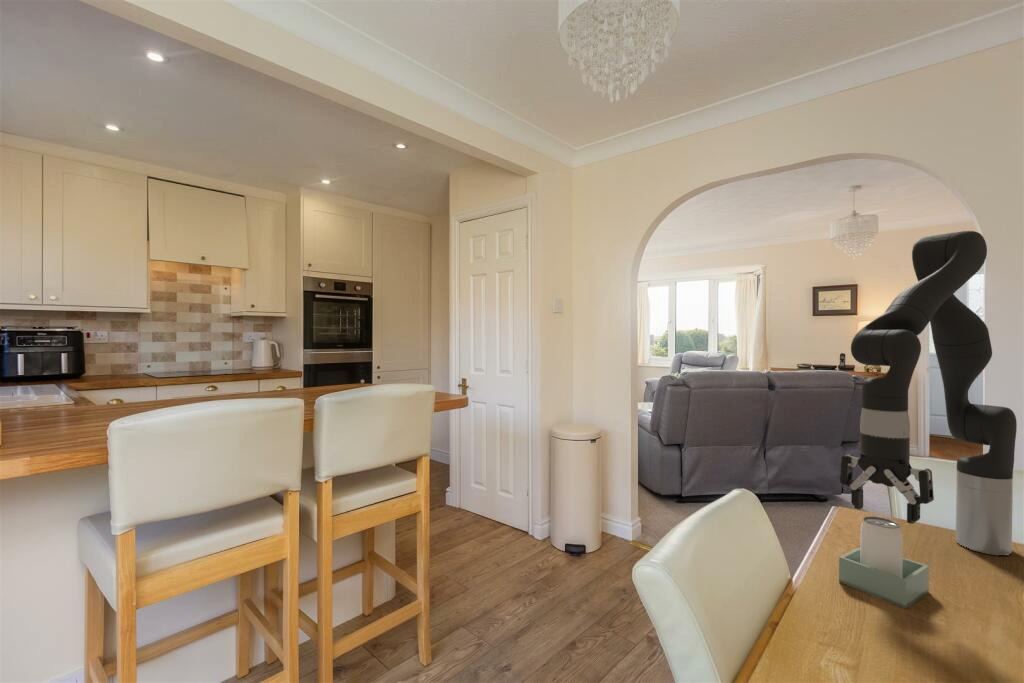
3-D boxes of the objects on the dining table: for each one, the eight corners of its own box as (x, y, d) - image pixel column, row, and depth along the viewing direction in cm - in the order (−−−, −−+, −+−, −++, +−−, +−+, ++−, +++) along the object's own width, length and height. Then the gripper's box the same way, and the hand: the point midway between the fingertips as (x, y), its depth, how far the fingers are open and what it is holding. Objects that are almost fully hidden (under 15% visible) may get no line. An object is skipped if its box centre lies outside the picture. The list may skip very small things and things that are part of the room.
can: (910, 593, 87) (911, 529, 87) (871, 589, 89) (871, 526, 89) (889, 576, 94) (890, 517, 94) (853, 573, 95) (854, 514, 95)
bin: (863, 568, 98) (863, 544, 98) (928, 592, 89) (928, 566, 89) (838, 582, 93) (839, 556, 93) (905, 608, 83) (906, 581, 83)
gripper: (939, 436, 87) (938, 523, 87) (851, 424, 99) (851, 500, 99) (923, 441, 83) (923, 532, 83) (834, 428, 95) (833, 507, 95)
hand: (884, 515), depth 91 cm, fingers open, 8 cm apart
